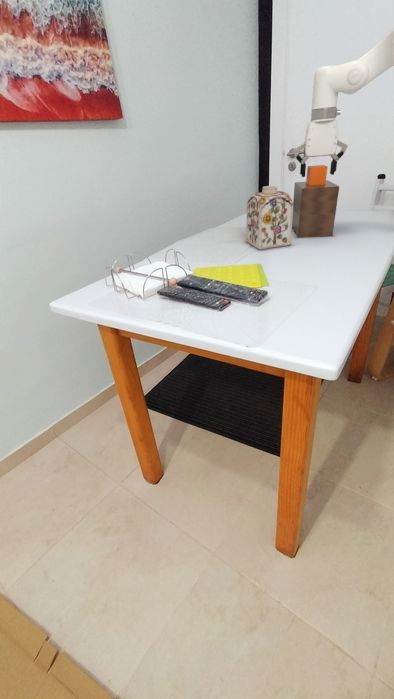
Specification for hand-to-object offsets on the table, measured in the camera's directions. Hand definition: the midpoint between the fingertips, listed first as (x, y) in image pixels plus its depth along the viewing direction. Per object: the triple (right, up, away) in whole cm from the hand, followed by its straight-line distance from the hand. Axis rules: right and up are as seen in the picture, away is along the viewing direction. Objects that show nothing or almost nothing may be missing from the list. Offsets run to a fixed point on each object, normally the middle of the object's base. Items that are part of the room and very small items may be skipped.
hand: (317, 175), depth 117 cm
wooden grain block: (+1, -16, +10) cm, 19 cm away
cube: (0, -2, +1) cm, 3 cm away
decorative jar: (-17, -24, 0) cm, 30 cm away
